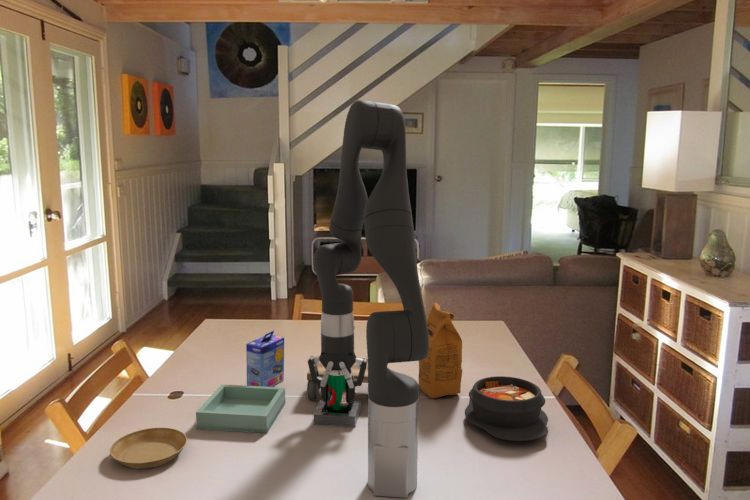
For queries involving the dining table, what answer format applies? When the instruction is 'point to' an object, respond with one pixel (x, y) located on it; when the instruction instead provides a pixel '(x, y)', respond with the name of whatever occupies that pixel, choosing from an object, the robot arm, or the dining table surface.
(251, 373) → the ink cartridge box
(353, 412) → the frame
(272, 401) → the tray
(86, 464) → the dining table surface
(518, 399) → the casserole
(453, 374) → the coffee package
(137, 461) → the plant saucer
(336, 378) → the soda can
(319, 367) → the trolley
